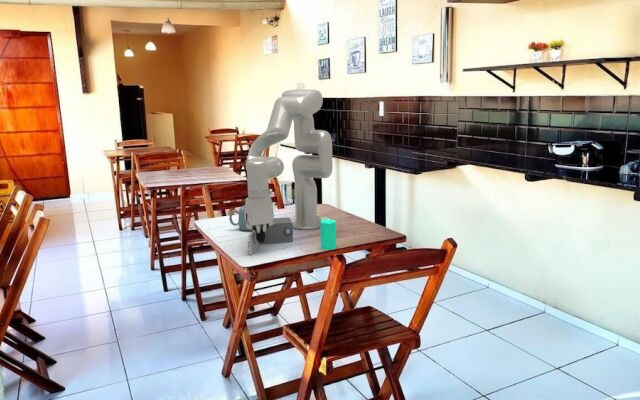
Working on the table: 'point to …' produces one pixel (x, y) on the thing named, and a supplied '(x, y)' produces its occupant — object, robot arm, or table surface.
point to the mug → (240, 219)
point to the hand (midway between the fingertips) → (260, 241)
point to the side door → (252, 242)
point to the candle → (328, 234)
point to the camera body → (279, 231)
